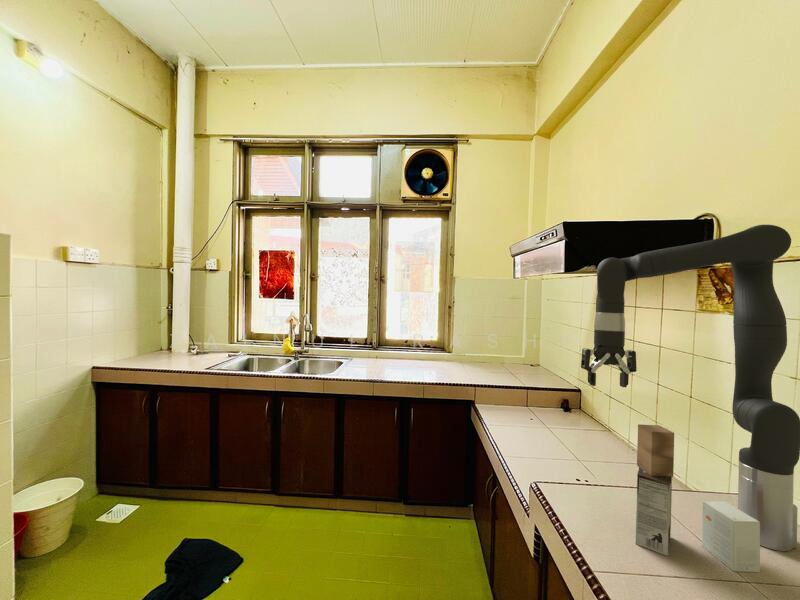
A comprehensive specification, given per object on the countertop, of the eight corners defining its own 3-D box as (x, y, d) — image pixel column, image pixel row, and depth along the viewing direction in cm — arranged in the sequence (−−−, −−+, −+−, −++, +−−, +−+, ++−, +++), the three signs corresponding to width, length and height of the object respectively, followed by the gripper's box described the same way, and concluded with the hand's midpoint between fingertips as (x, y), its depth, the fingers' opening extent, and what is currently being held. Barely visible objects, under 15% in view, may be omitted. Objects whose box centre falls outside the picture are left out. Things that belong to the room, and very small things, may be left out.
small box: (760, 573, 74) (761, 522, 74) (733, 572, 74) (734, 521, 74) (725, 547, 82) (726, 501, 82) (701, 546, 82) (702, 500, 82)
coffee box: (638, 525, 89) (640, 460, 89) (671, 537, 85) (672, 469, 85) (634, 544, 82) (636, 473, 82) (669, 557, 78) (671, 483, 78)
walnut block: (657, 466, 86) (659, 425, 86) (673, 476, 81) (674, 432, 81) (636, 465, 86) (637, 424, 86) (650, 475, 81) (652, 431, 81)
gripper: (590, 328, 97) (588, 388, 97) (643, 330, 97) (642, 390, 97) (577, 327, 105) (576, 382, 105) (626, 329, 104) (625, 384, 104)
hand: (607, 386), depth 101 cm, fingers open, 8 cm apart
